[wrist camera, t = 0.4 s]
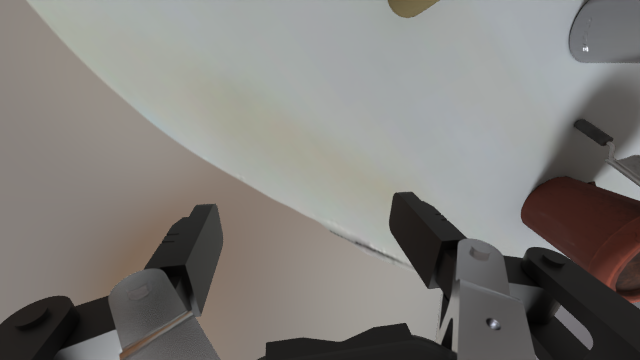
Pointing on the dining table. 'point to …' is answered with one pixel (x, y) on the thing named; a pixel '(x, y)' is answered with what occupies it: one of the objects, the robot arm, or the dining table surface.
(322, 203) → the dining table surface
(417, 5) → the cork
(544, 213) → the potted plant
